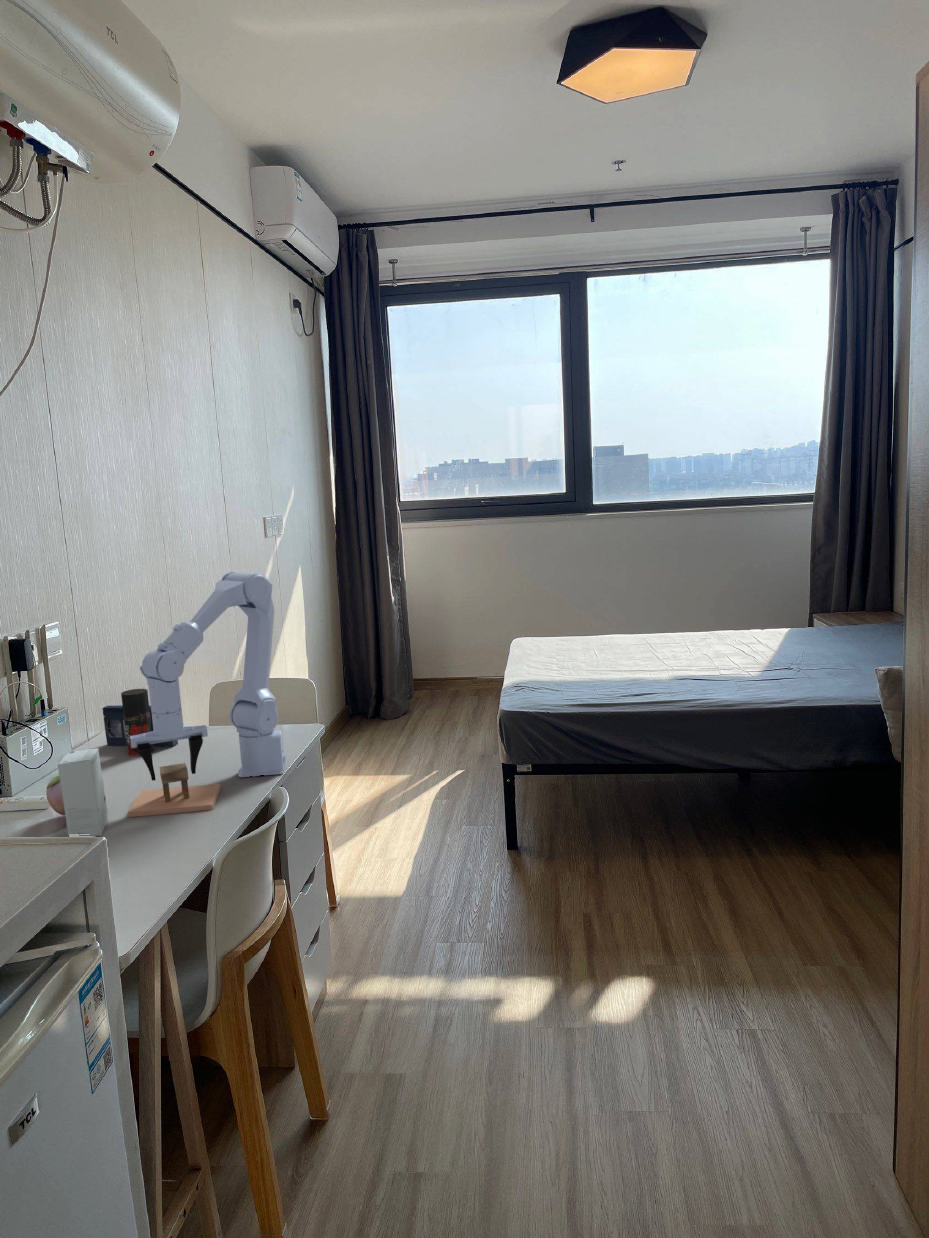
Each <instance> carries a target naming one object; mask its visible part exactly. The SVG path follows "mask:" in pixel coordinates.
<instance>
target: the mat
mask: <svg viewBox="0 0 929 1238" xmlns="http://www.w3.org/2000/svg"><path fill="white" fill-rule="evenodd" d="M221 789H222V786H221V783H212V784H202V785H201V784H200V785H199V784H198V785H190V786H189V785H188V790H189V799H184V796H183V793H182V786H178V787H169V792H170V801H171V802H166V803H165V797H164V793H163V788H155V789H142V790H141V791H140V792H139V794H138V795H137V797H136V799H135V800H134V802H133V803H132V804H131V807H130V808H129V810H128V811H127V817H128V818H135V817H144V816H156V815H164V814H165V815H166V814H176V813H177V814H179V813H187V812H197V811H208V810H209V811H210V810H213V809H214V807H215V804H216V801H217V799H218V796H219V794H220V791H221Z"/></svg>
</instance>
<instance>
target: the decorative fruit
mask: <svg viewBox="0 0 929 1238" xmlns="http://www.w3.org/2000/svg"><path fill="white" fill-rule="evenodd" d="M45 795H46V800H47V802H48V804H49V806H50V807H51V808H52V810H53V811H54V812H55V813H57V814H59V815H62V816H64V817H65V810H64V804H63V797H62V790H61V783H60V777H59V775H57V776H55V777H54V778H52V779H51V780H50V781H49V783H48V784H47V786H46V793H45Z"/></svg>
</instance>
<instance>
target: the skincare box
mask: <svg viewBox="0 0 929 1238" xmlns="http://www.w3.org/2000/svg"><path fill="white" fill-rule="evenodd" d="M57 768H58V776H59V777H60V783H61V790H62V797H63V804H64V810H65V816H64V817H65V821H66V828H67V834H68V833H69V834H90V835H79V836H100V837H102V836H103V832H104V829H105V828H106V826H107V825H108V823H109V819H110V818H109V813H108V805H107V798H106V792H105V785H104V779H103V771H102V765H101V759H100V751H99V748H90V749H82V750H76V751H68V752H67V753H66V754H65V756H63V757H62V758H61V761H59V762H58V764H57ZM101 834H102V835H101Z"/></svg>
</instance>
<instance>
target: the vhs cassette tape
mask: <svg viewBox="0 0 929 1238" xmlns="http://www.w3.org/2000/svg"><path fill="white" fill-rule="evenodd" d="M149 709H150V718H151V727H152V731H154V730H153V721H152V712H151V705H149ZM102 715H103V722H104V724H103V725H104V730H105V732H104V733H105V738H106V746H109V747H127V740H126V732H125V723H124V714H123V706H122V705H105V706H104V707H102ZM178 743H179V740H174V741H168V742H161V743H155V744H153V745H154V748H158V747H159V748H160V747H162V748H173V747H175V746H177V745H178Z"/></svg>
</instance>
